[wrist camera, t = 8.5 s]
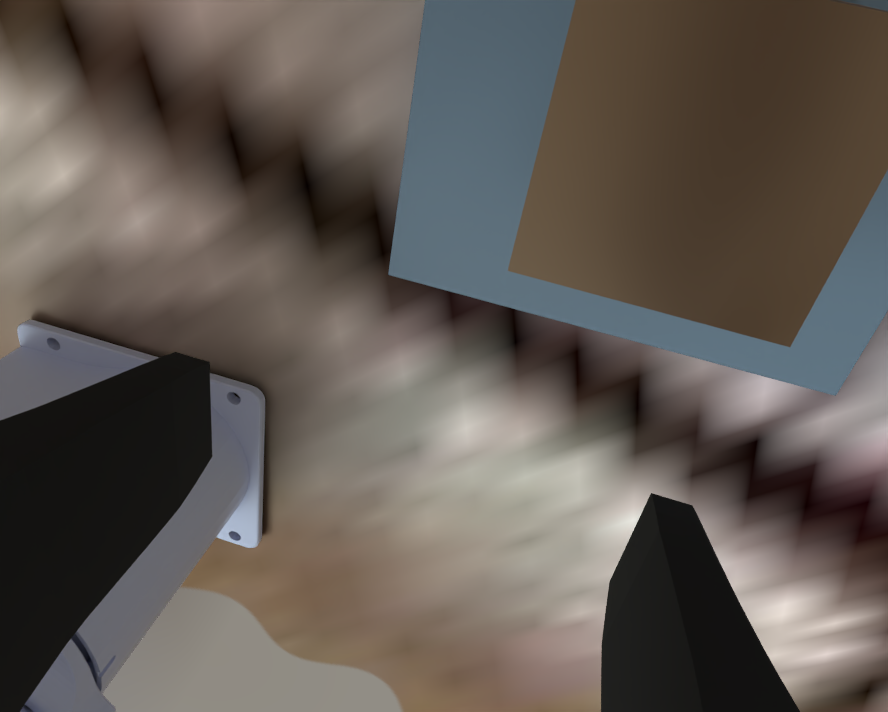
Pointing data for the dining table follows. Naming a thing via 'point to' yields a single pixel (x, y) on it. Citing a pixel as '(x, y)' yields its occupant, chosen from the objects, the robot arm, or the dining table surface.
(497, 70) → the slate board
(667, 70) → the walnut cube
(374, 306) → the dining table surface
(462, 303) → the dining table surface
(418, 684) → the dining table surface
